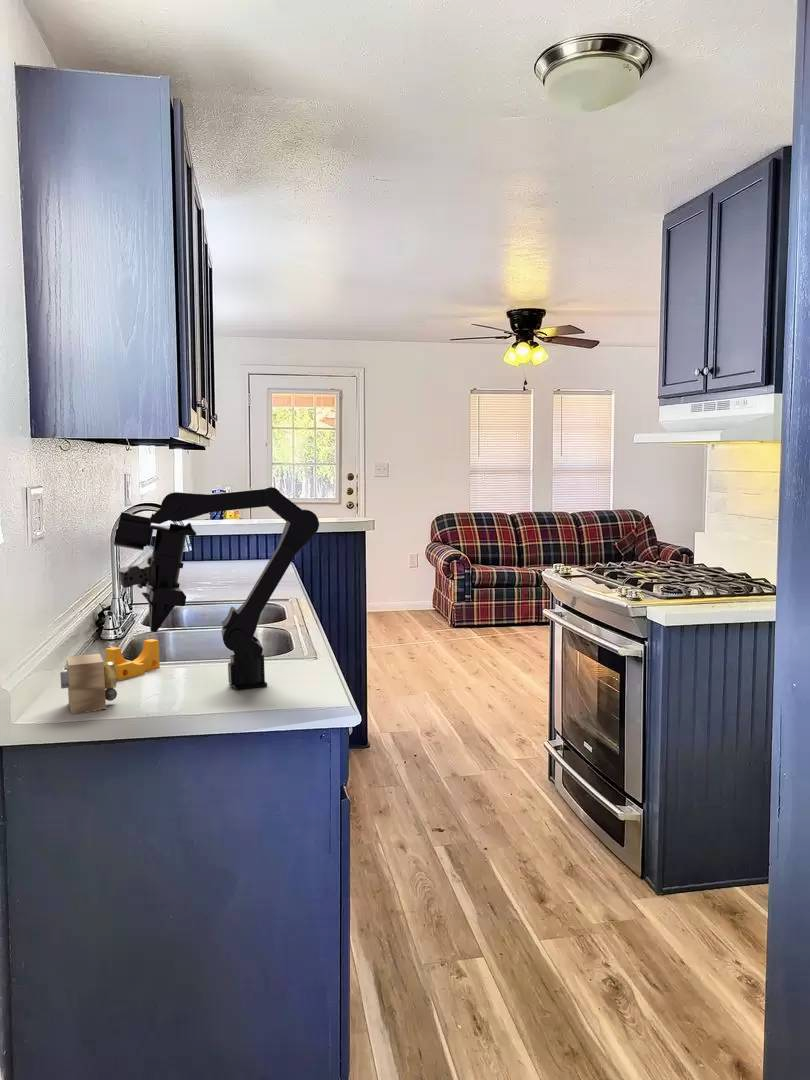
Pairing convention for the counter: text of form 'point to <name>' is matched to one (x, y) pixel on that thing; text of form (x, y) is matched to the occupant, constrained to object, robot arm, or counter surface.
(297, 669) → the counter surface
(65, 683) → the tan and grey piece
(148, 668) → the pipe clamp
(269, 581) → the robot arm
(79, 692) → the oak block
